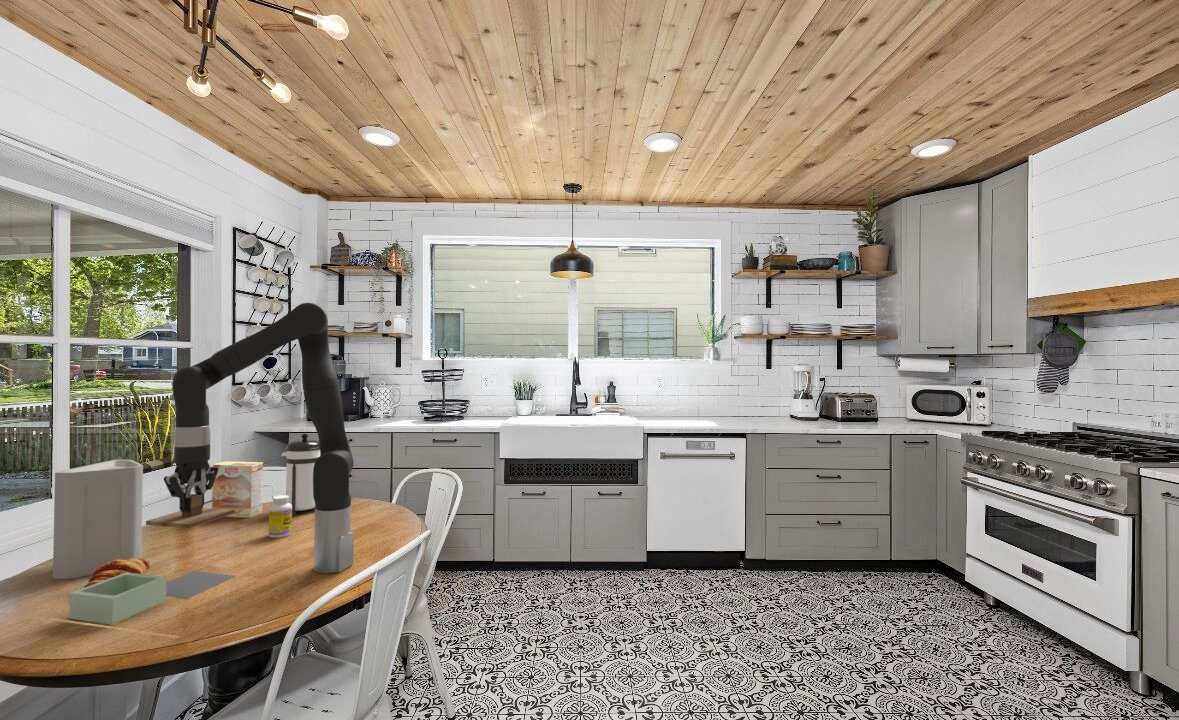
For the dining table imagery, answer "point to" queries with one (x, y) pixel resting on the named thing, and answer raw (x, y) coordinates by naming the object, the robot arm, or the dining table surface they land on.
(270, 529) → the supplement bottle
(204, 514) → the lid
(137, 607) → the green box
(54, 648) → the dining table surface
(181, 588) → the plate
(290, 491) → the coffee press
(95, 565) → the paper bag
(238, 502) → the coffeecake box
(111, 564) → the croissant
